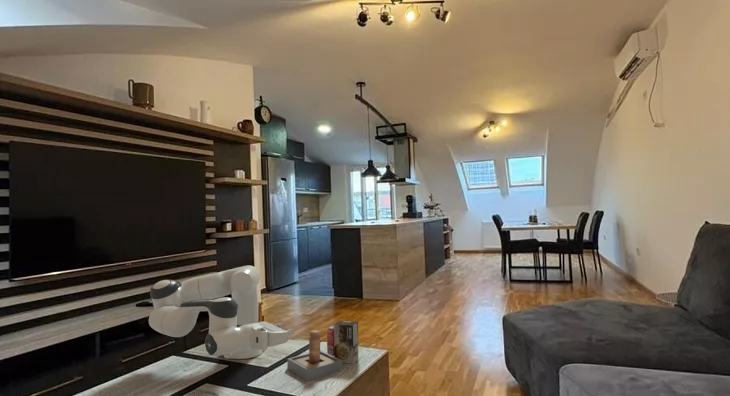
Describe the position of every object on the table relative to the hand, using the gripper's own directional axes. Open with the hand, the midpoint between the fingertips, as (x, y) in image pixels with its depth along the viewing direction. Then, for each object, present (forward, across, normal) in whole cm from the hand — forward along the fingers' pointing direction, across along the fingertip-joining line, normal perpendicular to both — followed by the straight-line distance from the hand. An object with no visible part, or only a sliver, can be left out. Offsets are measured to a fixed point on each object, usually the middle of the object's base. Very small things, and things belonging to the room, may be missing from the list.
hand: (287, 328), depth 156 cm
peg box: (+12, -1, -19) cm, 23 cm away
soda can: (+29, -11, -19) cm, 37 cm away
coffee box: (+28, -1, -20) cm, 35 cm away
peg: (+12, -1, -18) cm, 22 cm away
